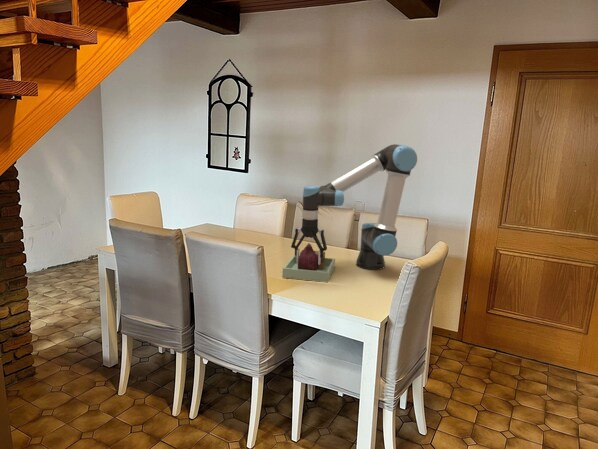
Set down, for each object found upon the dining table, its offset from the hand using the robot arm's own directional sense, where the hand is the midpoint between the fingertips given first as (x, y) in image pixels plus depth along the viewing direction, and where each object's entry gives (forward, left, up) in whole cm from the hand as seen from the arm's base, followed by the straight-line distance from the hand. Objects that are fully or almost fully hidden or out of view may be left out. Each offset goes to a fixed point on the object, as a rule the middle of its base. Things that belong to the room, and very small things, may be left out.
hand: (308, 262), depth 225 cm
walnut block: (0, -11, -6) cm, 13 cm away
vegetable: (0, 0, -3) cm, 3 cm away
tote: (0, -4, -7) cm, 8 cm away
